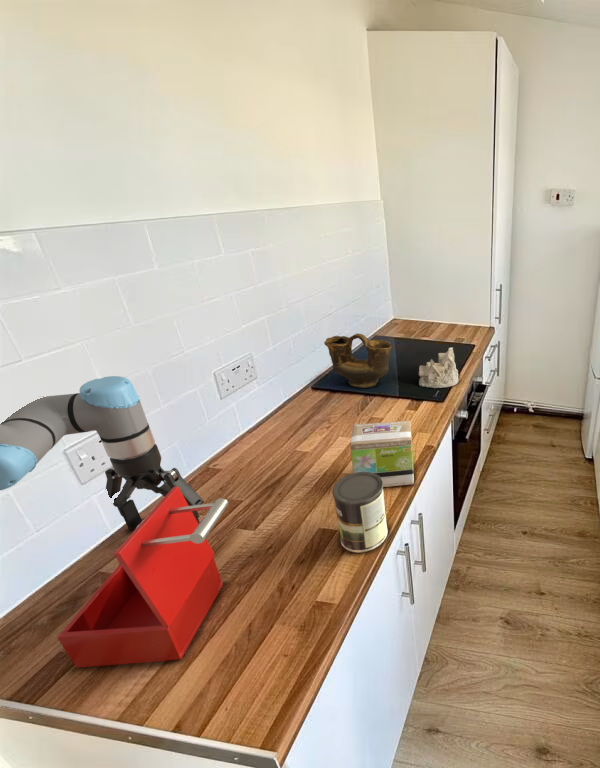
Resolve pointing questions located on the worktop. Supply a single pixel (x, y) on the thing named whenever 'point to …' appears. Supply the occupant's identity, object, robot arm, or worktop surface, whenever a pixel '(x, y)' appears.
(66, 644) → the box
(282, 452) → the worktop surface
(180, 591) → the lid
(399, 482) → the tea box
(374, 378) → the pottery vessel
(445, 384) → the ceramic cottage
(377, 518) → the coffee can
